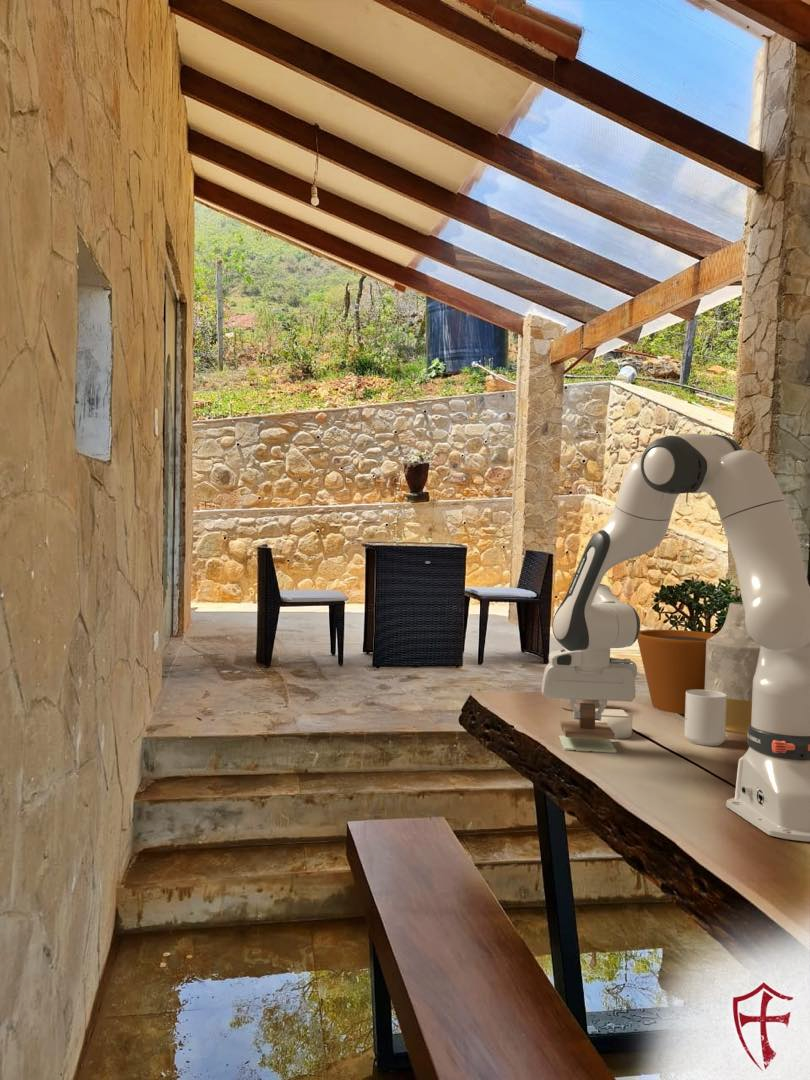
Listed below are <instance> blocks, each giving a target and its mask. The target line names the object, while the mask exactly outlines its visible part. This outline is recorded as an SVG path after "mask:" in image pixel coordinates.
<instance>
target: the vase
mask: <svg viewBox="0 0 810 1080" xmlns="http://www.w3.org/2000/svg"><path fill="white" fill-rule="evenodd" d="M715 634H716V635H714V636H713V637H711V638H709V639H707V641H706V665H705V690H710V691H717V692H721V693H724V694H726V695H727V708H726V731H727V732H728V733H732V732H733V734H739V733H740V734H741V735H747V732H748V727H749V725H750V724H751V717H752V690H753V678H754V675H755V672H756V668H757V663H758V658H759V652H760V646H761V645H759V644H758V643H756V642H755V641H754V640H753V639H752V637H751V636H750V635H749V633H748V631H747V628H746V624H745V611H744V606H743V602H741V601H740V602H739V601H738V602H729V605H728V610H727V613H726V617H725V620H724V623H723V626H722V627H721V629H720V630H719V631H718V632H717V633H715ZM740 734H739V735H740Z"/></svg>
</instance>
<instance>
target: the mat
mask: <svg viewBox="0 0 810 1080" xmlns="http://www.w3.org/2000/svg"><path fill="white" fill-rule="evenodd" d="M558 738H560V739H559V741H560V740H561V741H560V744H561V746H562V745H563V746H562V748H563V747H564V748H563V749H565V750H564V751H569V750H572V751H573V750H576V751H575V752H589V751H593V753H609V754H610V753H611V754H613V753H616V754H617V749H616V748H615V746H614V745H613V742H611V739H594V738H575V737H565V735H558ZM573 752H574V751H573Z"/></svg>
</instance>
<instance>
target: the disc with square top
mask: <svg viewBox="0 0 810 1080" xmlns="http://www.w3.org/2000/svg"><path fill="white" fill-rule="evenodd" d="M595 711H598V709H595ZM595 722H601V723H607V724H608V725H609V727H610V728H611V729H612V731H613V732H614V734H615V740H616V739H617V740H623V739H628V738H629V739H630V738H631V737H632V736H633V714H632V713H630V712H626V711H625V710H624V709H613V708H605V709H604V711H603V712H602V714H601V721H599V720H595Z"/></svg>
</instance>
